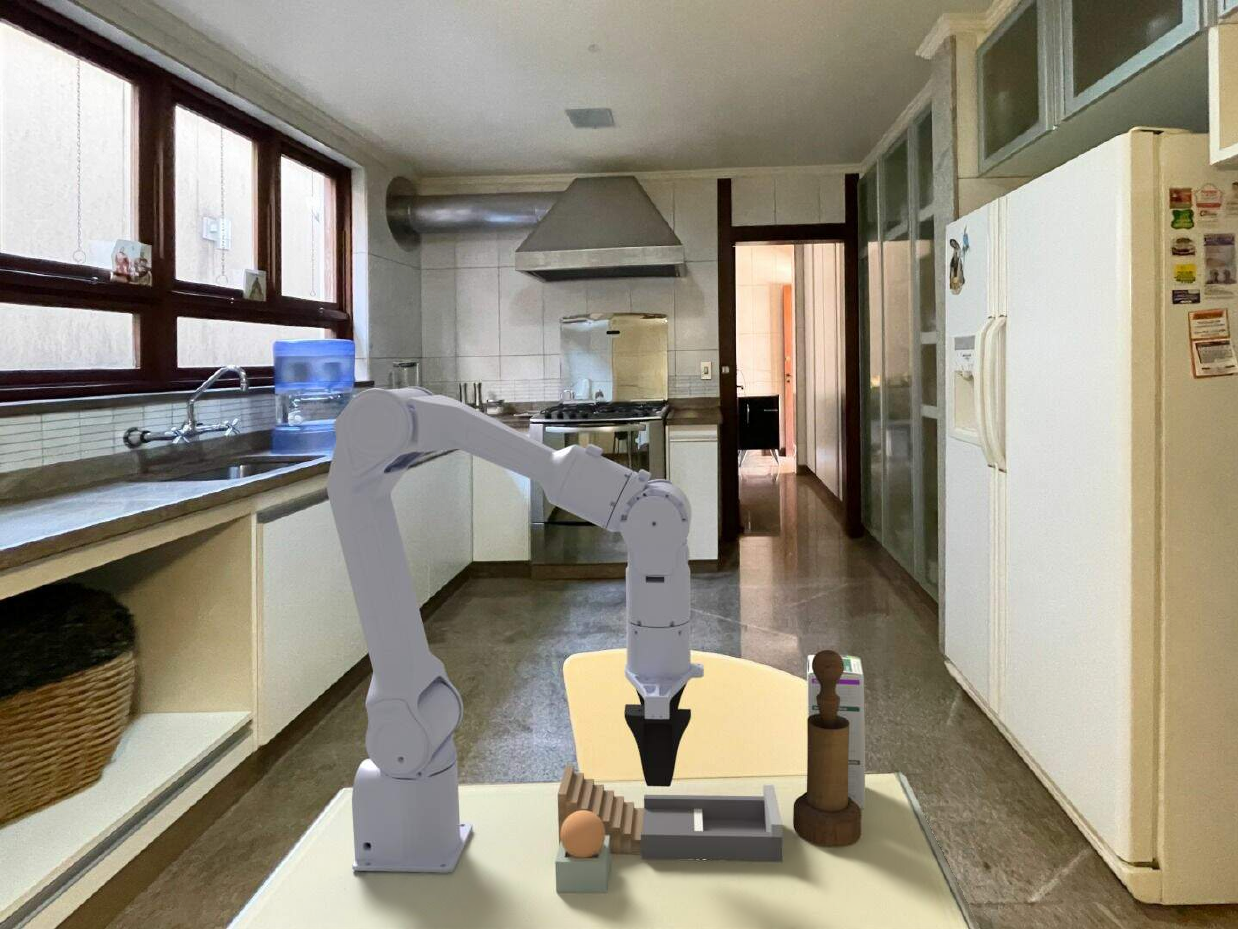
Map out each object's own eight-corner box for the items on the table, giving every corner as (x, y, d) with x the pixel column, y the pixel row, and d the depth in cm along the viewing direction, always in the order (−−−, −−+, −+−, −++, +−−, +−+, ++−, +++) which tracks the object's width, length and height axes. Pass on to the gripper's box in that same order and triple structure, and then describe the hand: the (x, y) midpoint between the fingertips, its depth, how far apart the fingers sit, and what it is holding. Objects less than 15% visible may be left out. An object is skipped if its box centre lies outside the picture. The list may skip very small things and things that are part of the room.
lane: (641, 859, 81) (640, 822, 80) (644, 817, 88) (644, 783, 88) (782, 861, 80) (782, 824, 79) (773, 819, 87) (773, 785, 87)
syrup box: (866, 811, 89) (867, 673, 87) (807, 806, 90) (807, 670, 88) (862, 784, 94) (863, 655, 93) (806, 780, 95) (806, 652, 94)
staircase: (559, 852, 82) (557, 794, 81) (567, 820, 88) (566, 765, 87) (641, 854, 81) (640, 795, 81) (644, 821, 87) (643, 766, 87)
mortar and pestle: (876, 837, 83) (878, 656, 82) (822, 855, 81) (822, 668, 79) (831, 807, 89) (832, 637, 88) (779, 822, 87) (779, 647, 85)
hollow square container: (556, 892, 76) (555, 861, 76) (563, 863, 80) (562, 834, 80) (606, 893, 76) (605, 862, 75) (610, 864, 80) (609, 835, 80)
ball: (558, 868, 76) (556, 824, 75) (564, 843, 80) (563, 801, 79) (603, 869, 76) (602, 825, 75) (607, 844, 79) (606, 802, 79)
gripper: (706, 644, 70) (706, 805, 71) (701, 597, 84) (701, 731, 86) (618, 644, 70) (620, 803, 72) (628, 597, 85) (630, 730, 86)
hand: (659, 764), depth 79 cm, fingers open, 7 cm apart
